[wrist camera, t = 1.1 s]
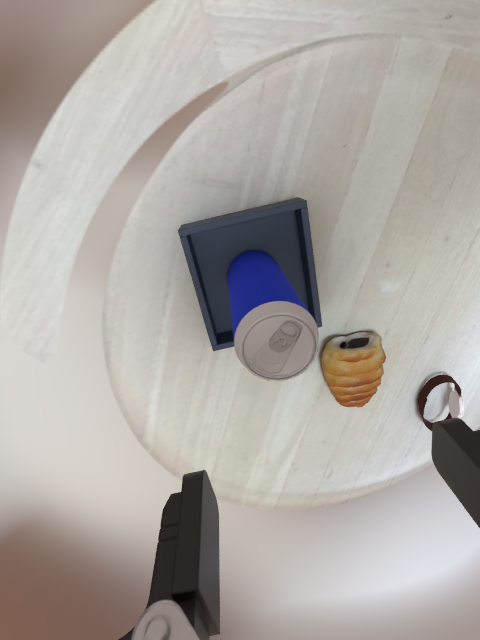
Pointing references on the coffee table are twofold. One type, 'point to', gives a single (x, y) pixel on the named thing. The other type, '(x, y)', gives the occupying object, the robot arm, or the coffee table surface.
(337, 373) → the pastry
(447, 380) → the watch
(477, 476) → the robot arm
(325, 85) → the coffee table surface
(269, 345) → the beverage can
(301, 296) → the tray
